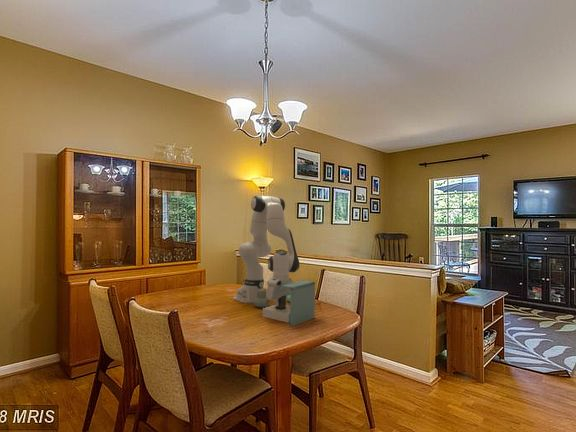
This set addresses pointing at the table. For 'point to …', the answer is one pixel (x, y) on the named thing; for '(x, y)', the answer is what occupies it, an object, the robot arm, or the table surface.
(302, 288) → the teal stepped panel
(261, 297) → the air freshener
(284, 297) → the peg
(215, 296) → the table surface
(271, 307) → the socket block
